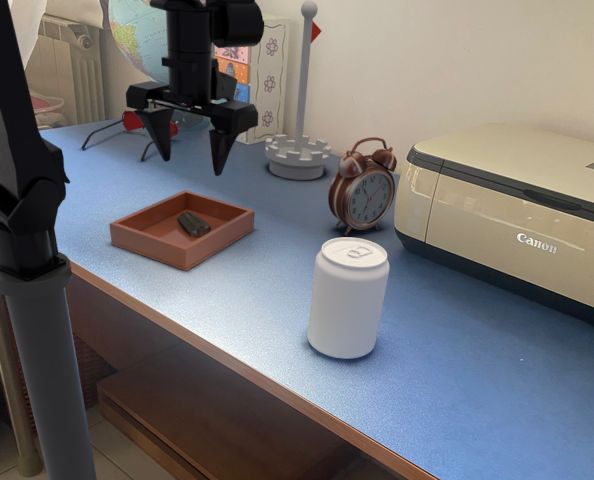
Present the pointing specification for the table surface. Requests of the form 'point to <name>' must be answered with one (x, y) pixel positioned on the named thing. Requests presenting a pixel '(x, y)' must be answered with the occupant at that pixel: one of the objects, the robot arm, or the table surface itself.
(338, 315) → the beverage can
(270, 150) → the flag stand
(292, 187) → the table surface
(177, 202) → the desk tray
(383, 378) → the table surface
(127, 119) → the glasses
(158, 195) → the table surface
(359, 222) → the alarm clock
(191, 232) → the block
